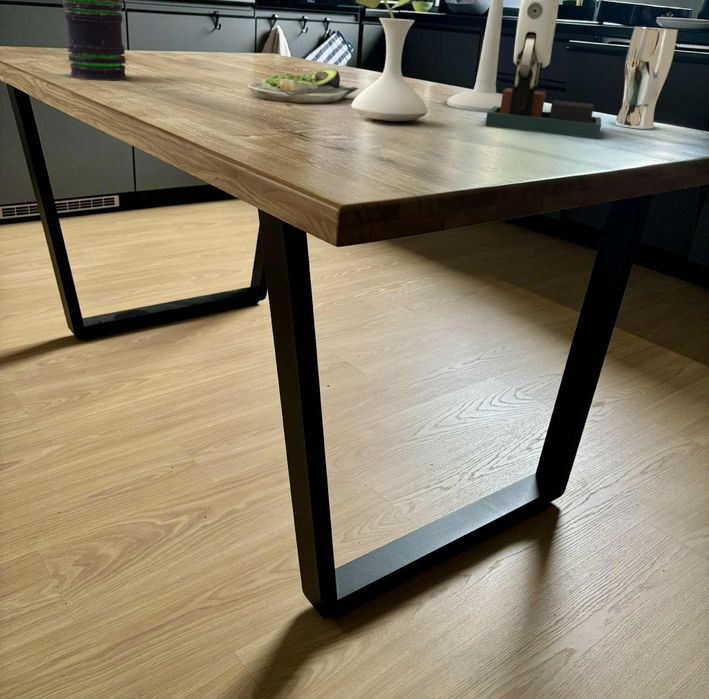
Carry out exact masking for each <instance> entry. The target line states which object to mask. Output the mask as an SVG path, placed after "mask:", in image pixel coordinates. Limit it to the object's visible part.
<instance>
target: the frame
mask: <svg viewBox="0 0 709 699" xmlns="http://www.w3.org/2000/svg"><path fill="white" fill-rule="evenodd" d="M500 109H501V107H496V106H494V107H493V108H492V109H491V110H490V111H488V112H486V117H485V124H484V125H485V127H489V128H490V127H491V128H499V129H508V130H517V131H525V132H535V133H543V134H551V135H552V134H553V135H561V136H571V137H580V138H581V137H582V138H587V139H595V140H596V139H597V140H598V139H599V137H600V132H601V128H602V117H599V116H598V117H597V116H592V118H591V123H587V122H578V121H568V120H559V119H550V118H549V117H550V111H542V116H541V117H531V116H522V115H513V114H504V113H500Z"/></svg>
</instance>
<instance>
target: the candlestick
mask: <svg viewBox="0 0 709 699" xmlns="http://www.w3.org/2000/svg"><path fill="white" fill-rule="evenodd" d="M504 1H505V0H490V3H489V8H488V14H487V19H486V26H485V31H484V37H483V43H482V47H481V53H480V58H479V64H478V69H477V75H476V80H475V84H474V87H473V90H467V91H463V92H460V93H457V94H454V95H453V96H451V97H449V98H448V99H447V102H446V104H447V106H450V107H452V108H457V109H461V110H468V111H475V112H483V113H487V112H488V111H490V110H491V109H492V108H493V107H494V106H496V107H501V102H502V95H503V93H499V92H497V85H496V84H497V75H498V74H497V73H498V64H499V52H500V42H501V31H502V20H503V10H504Z"/></svg>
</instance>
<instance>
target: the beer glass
mask: <svg viewBox="0 0 709 699" xmlns="http://www.w3.org/2000/svg"><path fill="white" fill-rule="evenodd" d="M678 31H679V30H678V29H675V28H674V29H673V28H661V27H649V26H648V27H647V26H634V27H633V31H632V34H631V38H630V42H629V45H628V49H627V53H626V57H625V62H624V72H623V93H622V99H621V100H622V101H621V103H620V104H621V105H620V108H619V110H618V113H617V116H616V118H615V120H614V124H615V125H617V126H619V127H624V128H630V129H639V130H651V129H653V127H654V121H655V120H654V118H655V111H656V110H655V109H656V104H657V101H658V99H659V96H660V93H661V92H662V89H663V86H664V84H665V81H666V79H667V77H668V74H669V71H670V68H671V65H672V63H673V58H674V53H675V49H676V42H677V36H678Z"/></svg>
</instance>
